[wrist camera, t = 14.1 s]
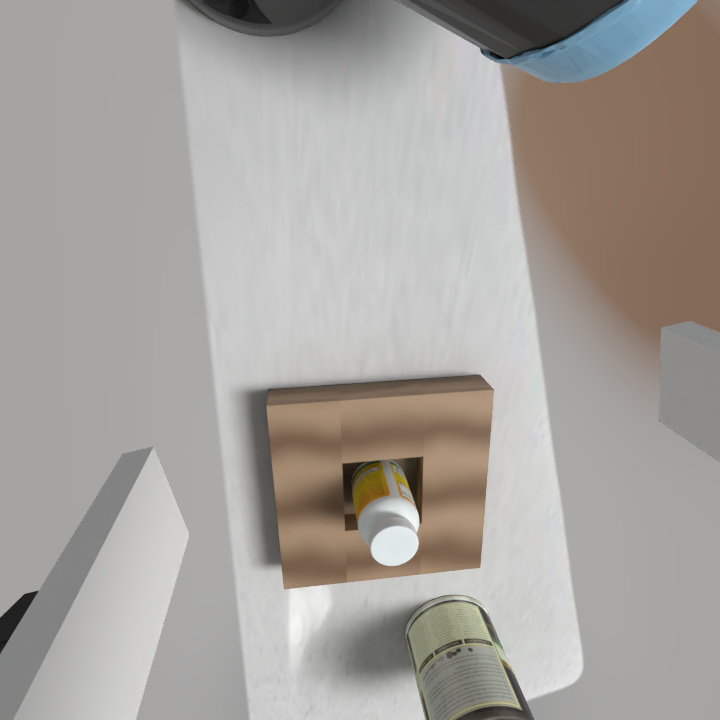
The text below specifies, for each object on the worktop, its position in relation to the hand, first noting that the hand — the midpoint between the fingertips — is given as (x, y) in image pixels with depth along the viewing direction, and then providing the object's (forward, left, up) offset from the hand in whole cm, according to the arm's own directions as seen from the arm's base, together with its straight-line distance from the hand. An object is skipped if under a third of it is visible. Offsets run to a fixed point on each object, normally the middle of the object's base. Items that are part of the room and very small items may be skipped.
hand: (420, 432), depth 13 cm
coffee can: (+12, +44, -32) cm, 56 cm away
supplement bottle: (+8, +21, -31) cm, 38 cm away
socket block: (+8, +21, -32) cm, 39 cm away
